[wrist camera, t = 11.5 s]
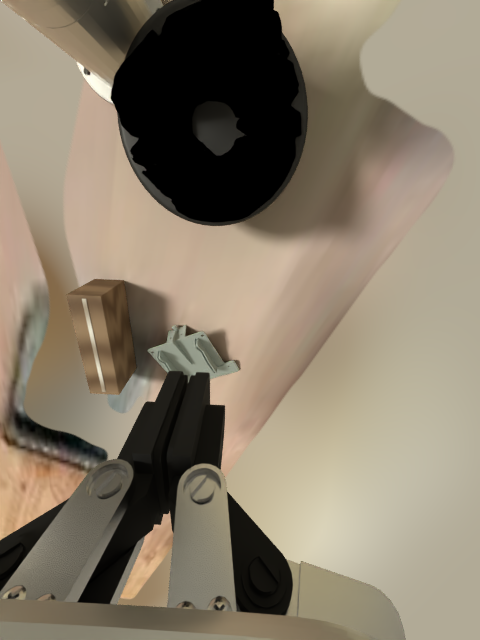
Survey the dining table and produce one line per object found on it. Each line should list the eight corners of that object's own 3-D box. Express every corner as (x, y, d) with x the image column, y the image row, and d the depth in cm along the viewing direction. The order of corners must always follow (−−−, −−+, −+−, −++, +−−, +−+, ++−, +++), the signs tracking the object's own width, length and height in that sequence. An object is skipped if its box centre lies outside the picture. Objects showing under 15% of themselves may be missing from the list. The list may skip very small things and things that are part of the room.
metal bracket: (132, 358, 46) (211, 331, 43) (139, 334, 50) (211, 309, 48) (174, 400, 55) (242, 380, 52) (177, 377, 59) (240, 358, 57)
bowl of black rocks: (170, 229, 42) (117, 251, 25) (128, 65, 34) (8, -67, 17) (297, 208, 40) (334, 216, 23) (286, 30, 32) (331, -158, 15)
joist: (94, 279, 46) (65, 294, 39) (123, 280, 46) (100, 296, 38) (111, 366, 53) (89, 393, 46) (136, 367, 53) (118, 395, 46)
